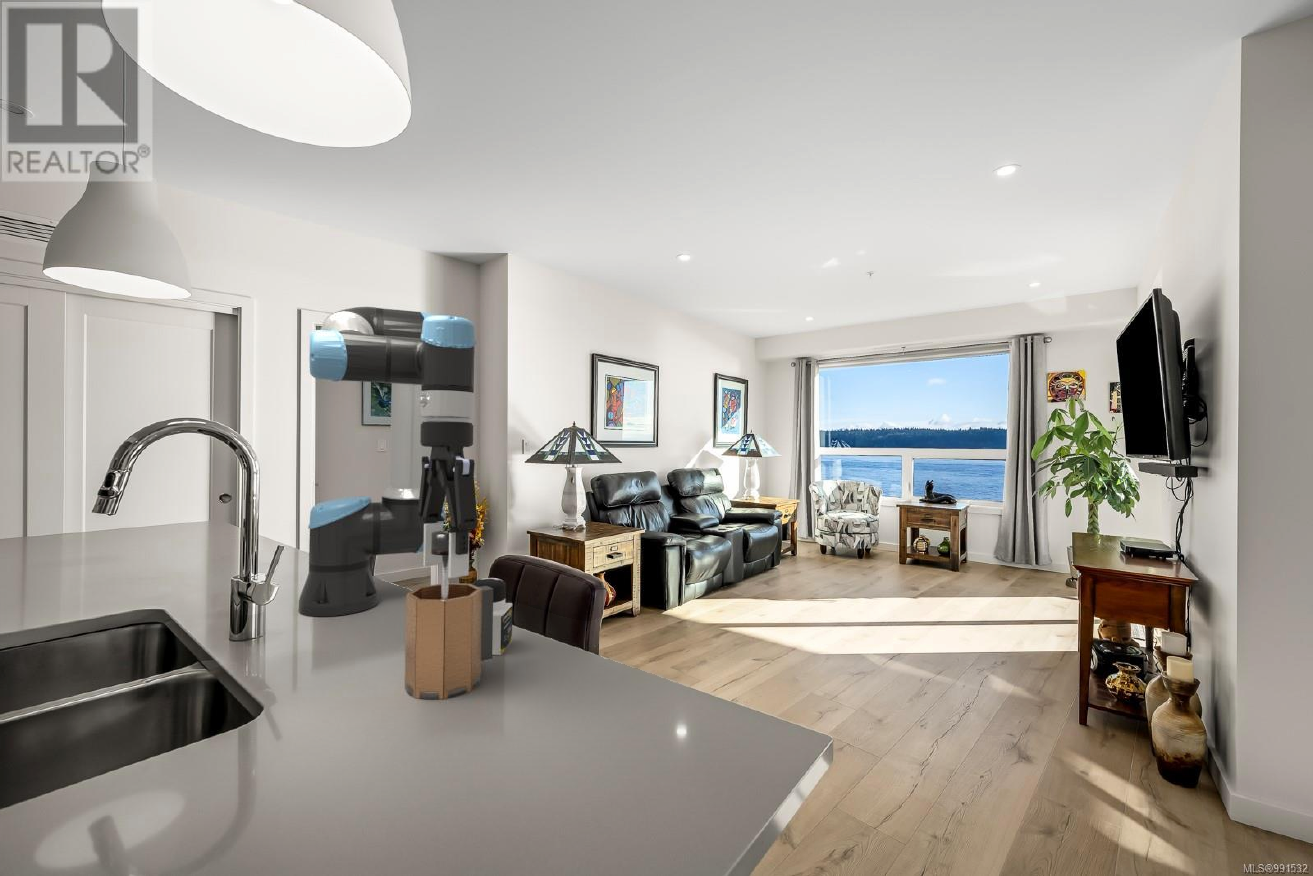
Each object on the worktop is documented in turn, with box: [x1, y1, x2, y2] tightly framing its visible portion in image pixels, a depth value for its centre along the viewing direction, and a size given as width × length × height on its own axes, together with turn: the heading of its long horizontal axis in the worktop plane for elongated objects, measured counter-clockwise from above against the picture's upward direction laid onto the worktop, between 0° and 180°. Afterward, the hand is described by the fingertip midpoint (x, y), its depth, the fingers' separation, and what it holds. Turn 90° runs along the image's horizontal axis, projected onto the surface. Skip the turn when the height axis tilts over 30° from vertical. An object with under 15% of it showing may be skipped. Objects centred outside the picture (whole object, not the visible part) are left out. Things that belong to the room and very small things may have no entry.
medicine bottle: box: [471, 577, 514, 656], centre depth 105 cm, size 7×7×12 cm
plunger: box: [431, 530, 450, 600], centre depth 89 cm, size 8×8×22 cm
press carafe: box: [404, 582, 493, 701], centre depth 90 cm, size 10×12×14 cm
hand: (445, 570), depth 89 cm, fingers open, 9 cm apart
